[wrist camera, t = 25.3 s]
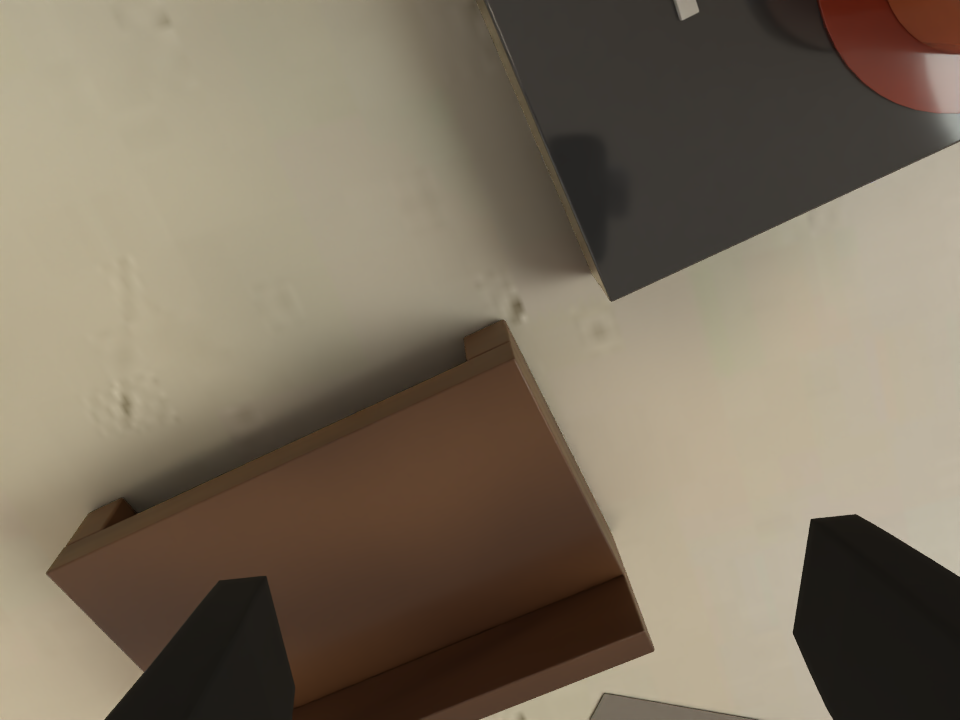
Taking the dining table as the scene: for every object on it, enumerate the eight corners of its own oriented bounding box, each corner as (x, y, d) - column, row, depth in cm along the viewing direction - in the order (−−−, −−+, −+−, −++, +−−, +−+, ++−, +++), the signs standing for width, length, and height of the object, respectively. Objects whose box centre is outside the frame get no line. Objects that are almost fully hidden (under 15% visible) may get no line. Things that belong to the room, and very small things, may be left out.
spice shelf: (87, 512, 20) (1, 635, 16) (504, 317, 18) (526, 399, 14) (247, 686, 23) (209, 826, 19) (612, 534, 22) (655, 651, 18)
